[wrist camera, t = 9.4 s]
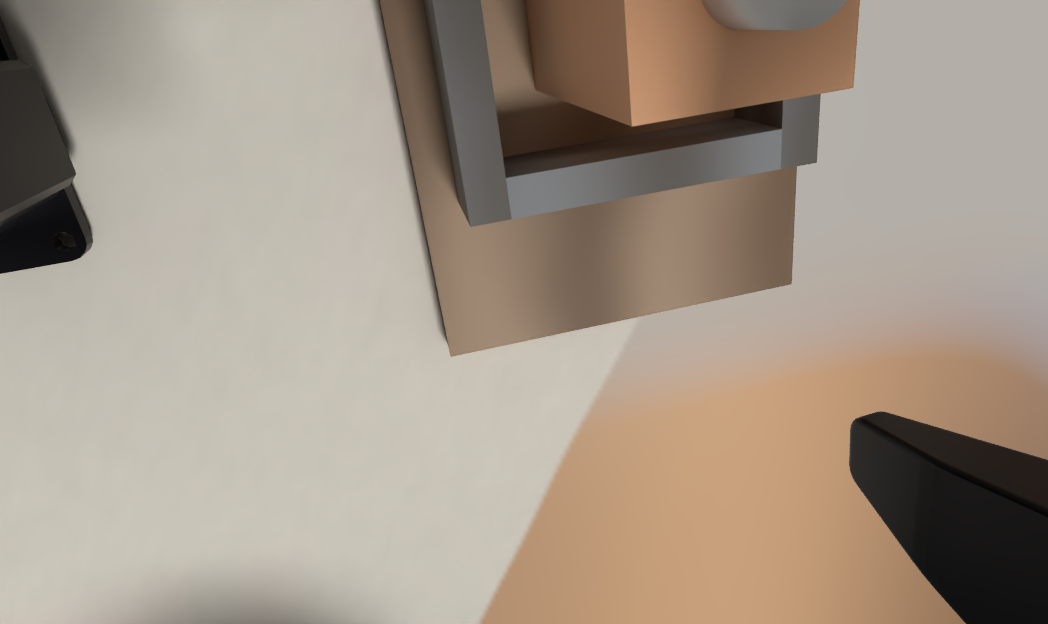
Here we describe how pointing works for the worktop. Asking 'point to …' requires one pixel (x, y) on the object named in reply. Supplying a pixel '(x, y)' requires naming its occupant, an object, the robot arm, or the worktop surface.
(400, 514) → the worktop surface
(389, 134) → the worktop surface
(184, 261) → the worktop surface
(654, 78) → the connector
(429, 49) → the end holder
